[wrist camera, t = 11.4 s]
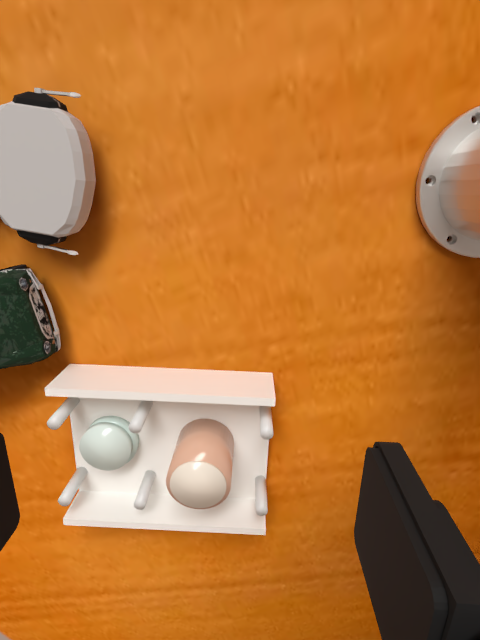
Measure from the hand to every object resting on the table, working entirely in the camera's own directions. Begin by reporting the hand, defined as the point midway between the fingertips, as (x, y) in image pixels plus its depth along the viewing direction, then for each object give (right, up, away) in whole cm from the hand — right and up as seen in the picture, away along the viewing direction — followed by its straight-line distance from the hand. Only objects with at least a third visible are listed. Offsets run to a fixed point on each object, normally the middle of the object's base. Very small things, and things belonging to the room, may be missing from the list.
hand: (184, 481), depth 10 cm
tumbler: (-2, -9, +31) cm, 33 cm away
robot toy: (-18, +18, +25) cm, 35 cm away
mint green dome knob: (-12, -9, +32) cm, 35 cm away
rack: (-6, -8, +33) cm, 34 cm away
